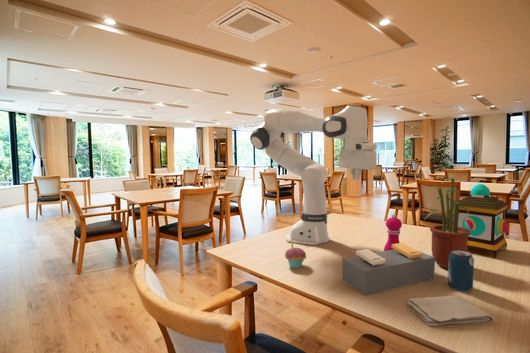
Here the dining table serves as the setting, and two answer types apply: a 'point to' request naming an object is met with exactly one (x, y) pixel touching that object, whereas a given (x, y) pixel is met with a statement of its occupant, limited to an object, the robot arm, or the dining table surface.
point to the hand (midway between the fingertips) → (355, 179)
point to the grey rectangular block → (387, 271)
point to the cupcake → (295, 256)
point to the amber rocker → (406, 250)
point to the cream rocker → (370, 257)
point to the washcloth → (448, 311)
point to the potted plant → (448, 229)
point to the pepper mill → (392, 232)
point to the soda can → (460, 270)
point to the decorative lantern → (484, 220)
